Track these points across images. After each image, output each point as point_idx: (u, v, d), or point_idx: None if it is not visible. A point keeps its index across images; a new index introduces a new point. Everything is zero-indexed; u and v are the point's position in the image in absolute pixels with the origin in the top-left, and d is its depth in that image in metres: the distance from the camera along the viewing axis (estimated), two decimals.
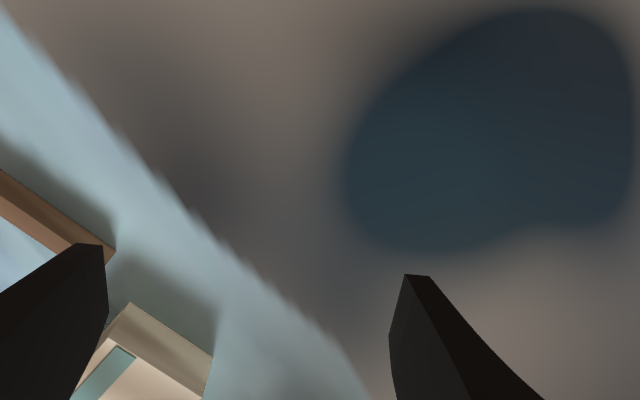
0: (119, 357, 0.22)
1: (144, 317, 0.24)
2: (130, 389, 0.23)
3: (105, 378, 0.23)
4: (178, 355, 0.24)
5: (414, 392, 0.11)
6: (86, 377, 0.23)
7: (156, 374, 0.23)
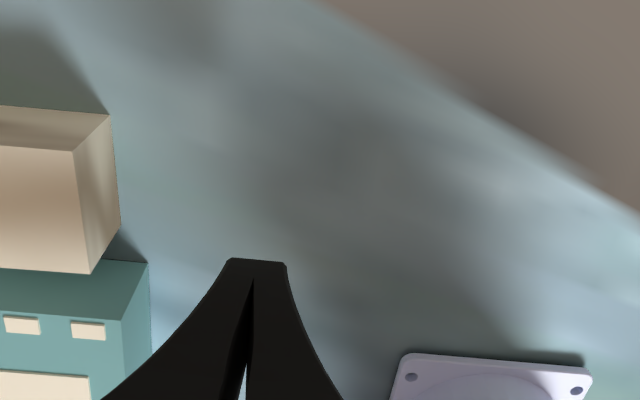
0: None
1: None
2: None
3: None
4: (31, 125, 0.15)
5: (248, 379, 0.10)
6: None
7: None
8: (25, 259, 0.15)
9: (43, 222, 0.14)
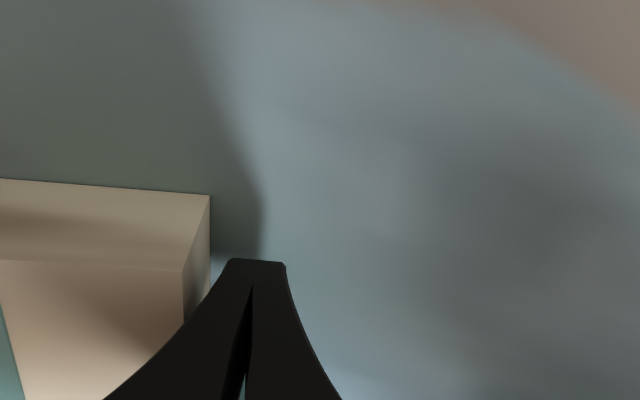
0: None
1: (25, 192, 0.11)
2: (46, 330, 0.10)
3: None
4: (114, 222, 0.11)
5: (247, 379, 0.10)
6: None
7: (56, 273, 0.10)
8: (103, 398, 0.11)
9: (131, 356, 0.11)
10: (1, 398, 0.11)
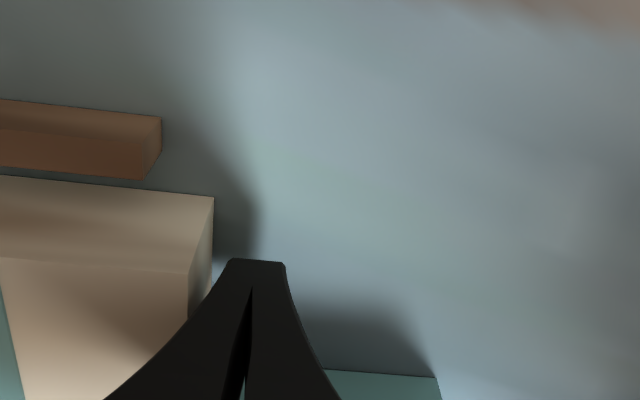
0: None
1: (29, 190, 0.11)
2: (49, 329, 0.10)
3: None
4: (119, 222, 0.11)
5: (246, 379, 0.10)
6: None
7: (62, 272, 0.10)
8: (103, 397, 0.11)
9: (134, 356, 0.11)
10: (0, 396, 0.11)
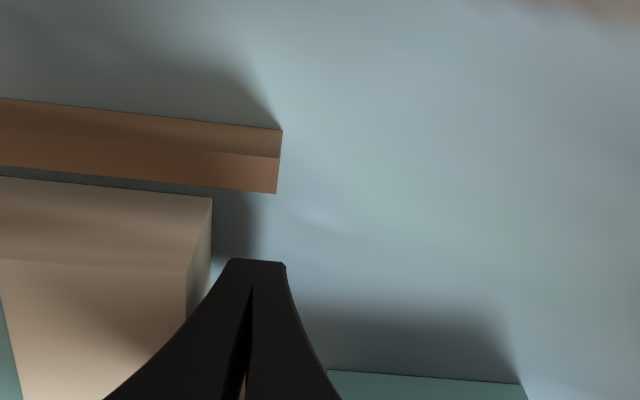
0: None
1: (27, 191, 0.11)
2: (47, 330, 0.10)
3: None
4: (117, 223, 0.11)
5: (247, 379, 0.10)
6: None
7: (59, 273, 0.10)
8: (102, 398, 0.11)
9: (131, 358, 0.11)
10: None
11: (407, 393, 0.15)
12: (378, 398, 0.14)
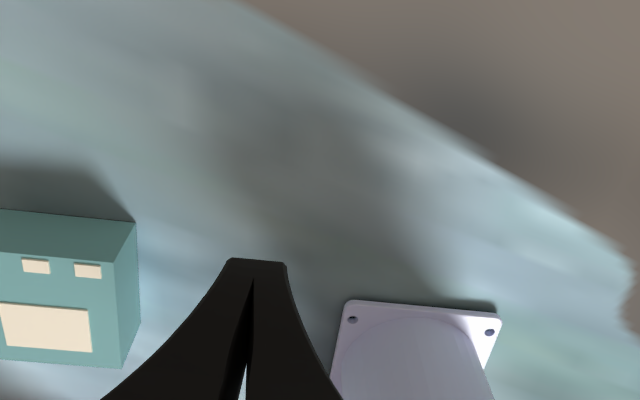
0: None
1: None
2: None
3: None
4: None
5: (248, 379, 0.10)
6: None
7: None
8: None
9: None
10: None
11: (44, 221, 0.22)
12: (20, 222, 0.22)
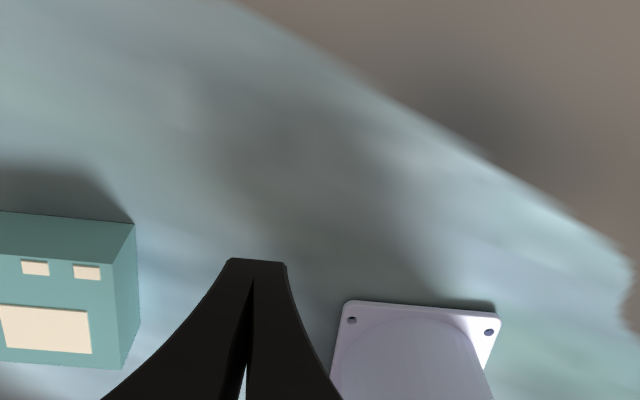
0: None
1: None
2: None
3: None
4: None
5: (248, 379, 0.10)
6: None
7: None
8: None
9: None
10: None
11: (43, 223, 0.22)
12: (19, 224, 0.22)
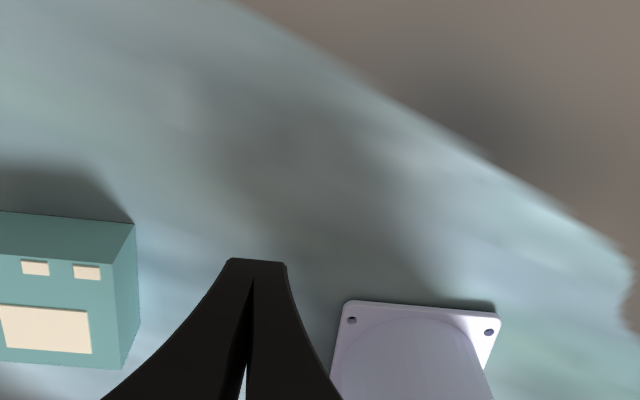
0: None
1: None
2: None
3: None
4: None
5: (248, 379, 0.10)
6: None
7: None
8: None
9: None
10: None
11: (43, 223, 0.22)
12: (19, 224, 0.22)
